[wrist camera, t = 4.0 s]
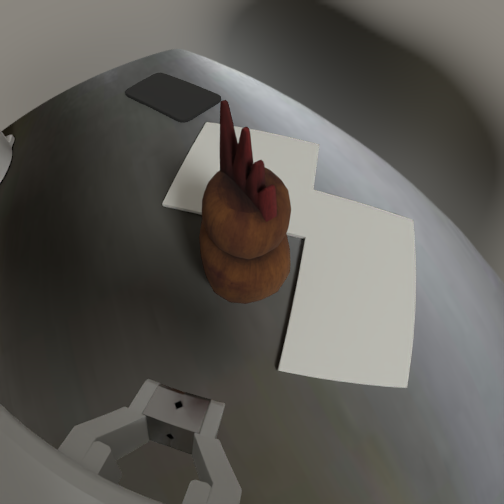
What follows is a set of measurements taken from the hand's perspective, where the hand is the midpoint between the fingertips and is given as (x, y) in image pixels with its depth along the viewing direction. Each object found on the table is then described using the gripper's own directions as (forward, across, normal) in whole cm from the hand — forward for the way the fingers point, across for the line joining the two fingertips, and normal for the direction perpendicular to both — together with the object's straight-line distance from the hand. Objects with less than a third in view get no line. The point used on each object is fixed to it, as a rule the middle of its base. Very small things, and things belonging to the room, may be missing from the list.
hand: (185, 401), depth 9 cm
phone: (+31, +17, -15) cm, 38 cm away
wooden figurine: (+14, 0, +1) cm, 15 cm away
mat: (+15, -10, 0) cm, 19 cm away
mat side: (+22, +2, -7) cm, 23 cm away
